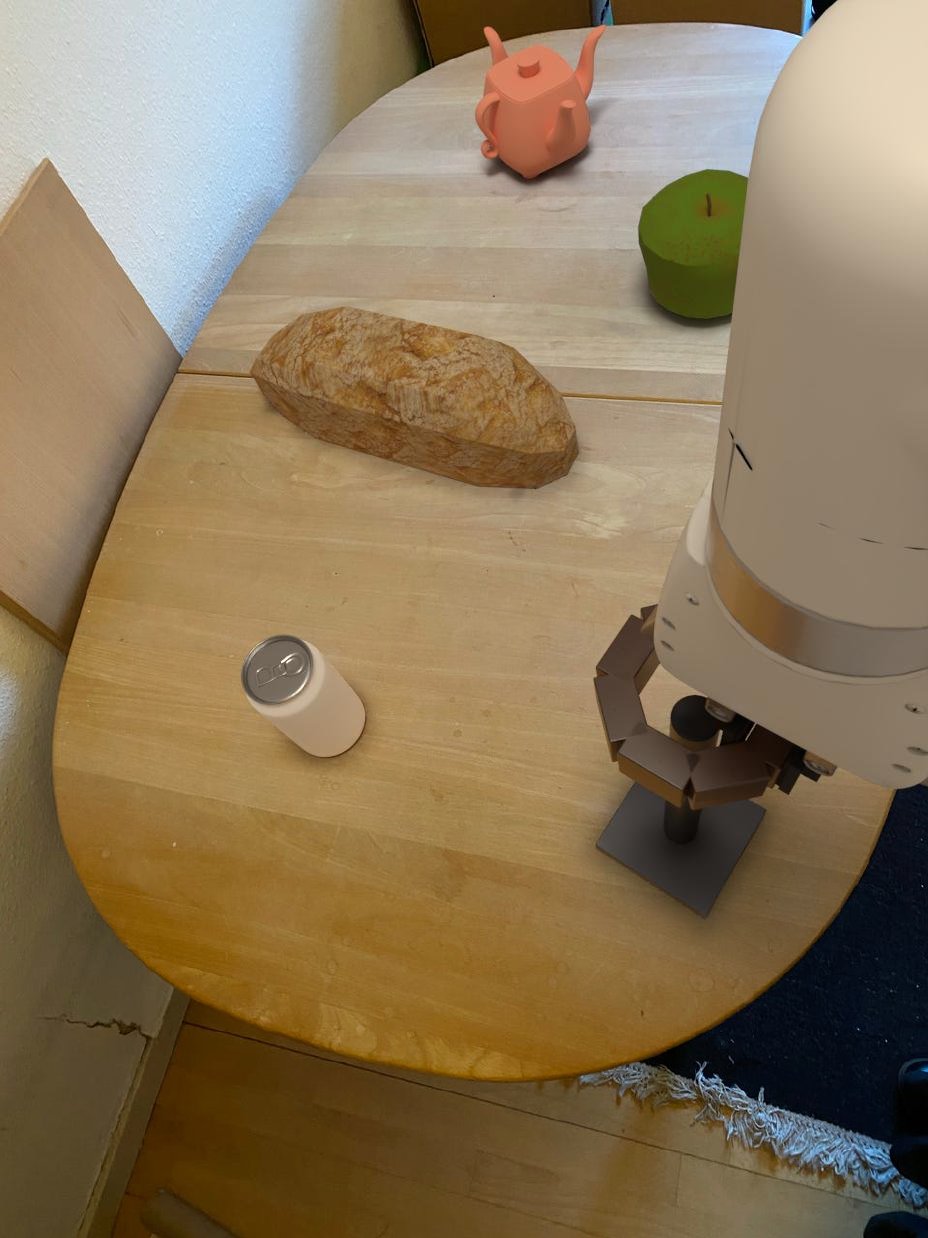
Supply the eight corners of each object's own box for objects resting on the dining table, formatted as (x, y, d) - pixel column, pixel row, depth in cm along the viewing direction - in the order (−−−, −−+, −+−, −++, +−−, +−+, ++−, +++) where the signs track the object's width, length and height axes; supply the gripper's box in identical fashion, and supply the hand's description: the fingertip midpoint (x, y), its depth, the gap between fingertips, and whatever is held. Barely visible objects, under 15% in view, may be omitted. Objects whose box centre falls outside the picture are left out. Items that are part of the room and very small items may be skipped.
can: (374, 743, 70) (326, 692, 60) (303, 769, 70) (242, 722, 60) (357, 677, 73) (308, 617, 63) (289, 702, 74) (229, 646, 63)
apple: (630, 334, 85) (627, 241, 75) (651, 248, 89) (651, 150, 80) (759, 341, 81) (774, 244, 71) (773, 251, 86) (789, 149, 76)
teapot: (498, 113, 105) (483, 19, 95) (610, 113, 101) (606, 15, 91) (465, 191, 100) (445, 100, 90) (581, 195, 95) (574, 100, 86)
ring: (834, 681, 39) (848, 655, 36) (740, 845, 36) (747, 830, 34) (662, 595, 42) (663, 566, 40) (565, 739, 40) (560, 718, 37)
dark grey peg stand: (765, 813, 62) (829, 688, 40) (704, 919, 59) (737, 849, 37) (657, 750, 65) (660, 604, 43) (596, 848, 63) (566, 745, 41)
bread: (595, 417, 81) (589, 342, 72) (550, 507, 77) (537, 439, 69) (297, 343, 94) (261, 272, 85) (246, 417, 90) (203, 350, 81)
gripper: (1270, 550, 19) (987, 772, 35) (658, 333, 26) (654, 604, 42) (1154, 822, 17) (910, 925, 33) (523, 513, 24) (574, 725, 40)
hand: (768, 746), depth 38 cm, fingers closed on ring, 2 cm apart
